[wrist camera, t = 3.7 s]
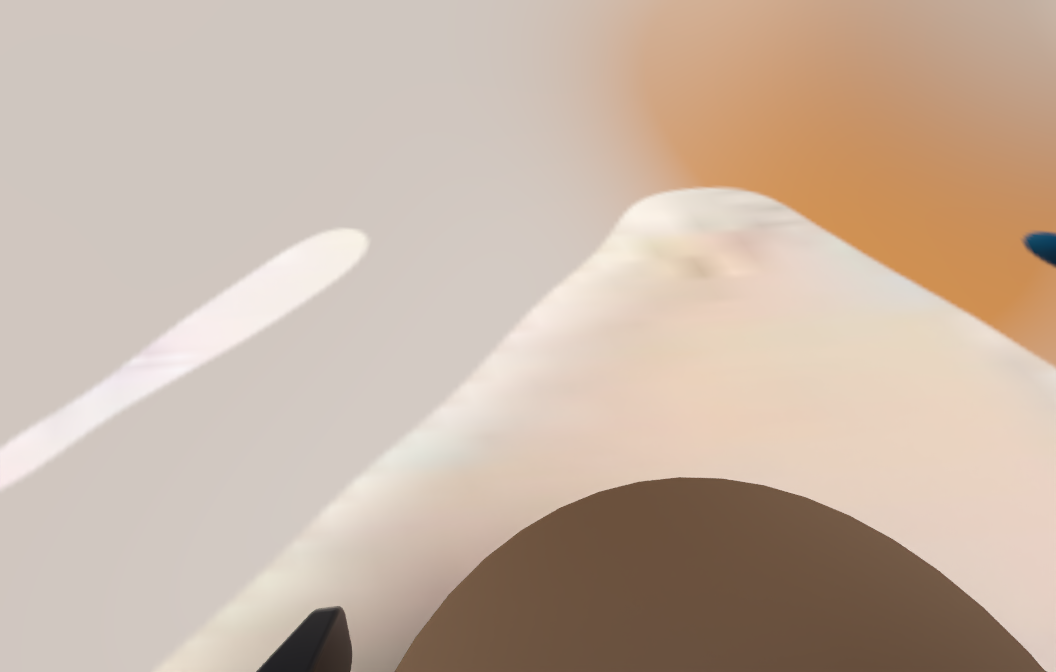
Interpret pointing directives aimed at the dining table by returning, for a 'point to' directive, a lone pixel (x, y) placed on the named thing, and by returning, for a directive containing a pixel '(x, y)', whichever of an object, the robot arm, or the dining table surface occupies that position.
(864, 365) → the dining table surface
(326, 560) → the dining table surface
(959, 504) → the dining table surface
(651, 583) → the walnut pin
